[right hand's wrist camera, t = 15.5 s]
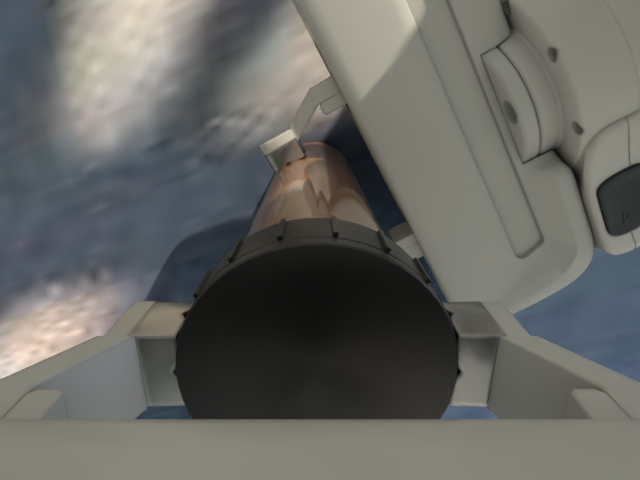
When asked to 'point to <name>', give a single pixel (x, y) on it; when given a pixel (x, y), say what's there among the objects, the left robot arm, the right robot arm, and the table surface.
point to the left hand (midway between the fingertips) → (300, 212)
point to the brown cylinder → (315, 191)
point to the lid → (317, 330)
